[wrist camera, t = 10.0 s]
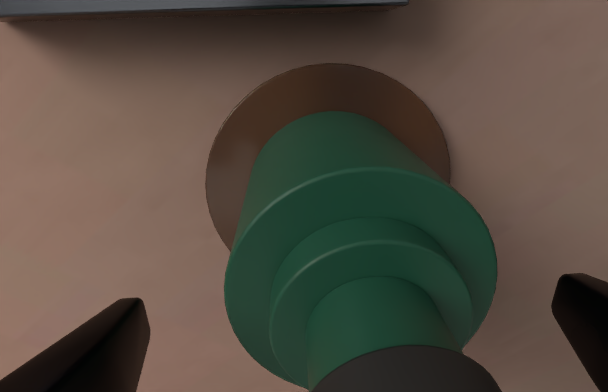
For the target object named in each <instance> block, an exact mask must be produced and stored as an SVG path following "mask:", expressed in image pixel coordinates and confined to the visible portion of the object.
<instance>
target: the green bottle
mask: <svg viewBox="0 0 608 392" xmlns="http://www.w3.org/2000/svg"><path fill="white" fill-rule="evenodd" d="M496 282H497V258H496V252H495V247H494V243H493V240H492V237H491V235H490V232H489V229H488V228H487V226H486V224H485V222H484V221H483V219H482V217H481V215H480V214H479V213H478V212H477V211H476V209H475V208H474V207H473V206H472V205H471V203H470V202H469V201H467V200H466V199H465V198H464V197H463V196H462V195H461V194H459V193H458V192H457V191H456V190H455V189H454V188H453V187H452V186H450V185H449V184H448V183H447V182H446V181H445V180H444V179H442V178H441V177H440V176H439V175H438V174H437V173H436V172H435V171H433V170H432V169H431V168H430V167H429V166H428V165H427V164H426V163H424V162H423V161H422V160H421V159H420V158H419V157H418V156H416V155H415V154H414V153H413V152H412V151H411V150H410V149H409V148H407V147H406V146H405V145H404V144H403V143H402V142H401V141H399V140H398V139H397V138H396V137H395V136H394V135H393V134H392V133H390V132H389V131H388V130H387V129H386V128H385V127H383V126H382V125H380V124H379V123H377V122H376V121H374V120H371V119H369V118H367V117H365V116H362V115H358V114H355V113H350V112H344V111H327V112H318V113H314V114H310V115H307V116H304V117H302V118H299V119H297V120H295V121H293V122H291V123H289V124H287V125H286V126H285V127H283V128H282V129H280V130H279V131H278V132H277V133H276V134H274V135H273V136H272V137H271V138H270V139H269V140H268V142H267V143H266V144H265V145H264V147H263V148H262V150H261V151H260V153H259V155H258V156H257V158H256V161H255V163H254V165H253V168H252V172H251V175H250V179H249V183H248V187H247V191H246V195H245V199H244V203H243V206H242V210H241V214H240V218H239V222H238V226H237V230H236V234H235V238H234V241H233V245H232V249H231V253H230V257H229V261H228V265H227V269H226V273H225V282H224V297H225V306H226V310H227V315H228V318H229V321H230V323H231V326H232V328H233V331H234V333H235V334H236V336H237V338H238V339H239V341H240V343H241V344H242V346H243V347H244V348H245V349H246V351H247V352H248V353H249V354H250V355H251V356H252V357H253V358H254V359H255V360H256V361H257V362H258V363H259V364H260V365H261V366H263V367H264V368H266V369H267V370H268V371H270V372H271V373H273V374H274V375H276V376H278V377H280V378H282V379H284V380H286V381H288V382H290V383H293V384H295V385H298V386H301V387H304V388H306V389H308V390H309V392H502V391H501V389H500V388H499V386H498V384H497V383H496V381H495V380H494V378H493V377H492V376H491V374H490V373H489V372H488V371H487V370H486V369H485V368H484V367H482V366H481V365H480V364H478V363H477V362H475V361H474V360H472V359H471V358H469V357H467V356H465V355H464V354H463V352H462V349H463V348H464V346H465V345H466V344H467V343H468V342H469V340H470V339H471V338H472V337H473V335H474V334H475V333H476V332H477V330H478V329H479V327H480V325H481V324H482V322H483V320H484V319H485V317H486V315H487V313H488V310H489V308H490V306H491V303H492V300H493V296H494V293H495V289H496Z"/></svg>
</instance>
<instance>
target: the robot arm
mask: <svg viewBox="0 0 608 392" xmlns="http://www.w3.org/2000/svg"><path fill="white" fill-rule="evenodd" d="M551 308H552V313H553V315H554V317H555V319H556V321H557V322H558V324H559V326H560V327H561V329H562V331H563V332H564V334H565V336H566V337H567V339H568V341H569V342H570V344H571V346H572V347H573V349H574V351H575V352H576V354H577V356H578V357H579V359H580V361H581V362H582V364H583V366H584V367H585V369H586V371H587V372H588V374H589V376H590V377H591V379H592V380H593V382H594V383H595V385H596V386H597V388H598V389H599V391H600V392H608V282H605V281H602V280H600V279H597V278H594V277H592V276H589V275H587V274H583V273H574V274H564V275H562V276H561V277H560V278H559V280H558V283H557V287H556V290H555V294H554V297H553V301H552V305H551ZM149 340H150V326H149V322H148V318H147V314H146V310H145V306H144V303H143V301H142V299H140V298H123V299H119V300H118V301H116V302H115V303H113V304H112V305H110V306H109V307H107V308H106V309H104V310H103V311H101V312H100V313H99V314H97V315H96V316H94V317H93V318H91V319H90V320H88V321H87V322H85V323H84V324H82V325H81V326H79V327H78V328H76V329H75V330H74V331H72V332H71V333H69V334H68V335H66V336H65V337H63V338H62V339H60V340H59V341H57V342H56V343H54V344H53V345H51V346H50V347H49V348H47V349H46V350H44V351H43V352H41V353H40V354H38V355H37V356H35V357H34V358H32V359H31V360H29V361H28V362H26V363H25V364H24V365H22V366H21V367H19V368H18V369H16V370H15V371H13V372H12V373H10V374H9V375H7V376H6V377H4V378H3V379H1V380H0V392H136V390H137V386H138V382H139V378H140V374H141V371H142V367H143V363H144V359H145V355H146V351H147V348H148V344H149Z"/></svg>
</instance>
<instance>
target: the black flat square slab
mask: <svg viewBox="0 0 608 392" xmlns="http://www.w3.org/2000/svg"><path fill="white" fill-rule="evenodd" d="M408 4H409V0H0V22H27V21H60V20H92V19H125V18H158V17H190V16H223V15H256V14H289V13H321V12H354V11H387V10H392V9H395V8H399V7H402V6H406V5H408Z"/></svg>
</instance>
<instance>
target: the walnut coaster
mask: <svg viewBox="0 0 608 392" xmlns="http://www.w3.org/2000/svg"><path fill="white" fill-rule="evenodd" d="M327 111H344V112H350V113H355V114H358V115H362V116H365V117H367V118H369V119H371V120H374V121H376V122H377V123H379V124H380V125H382V126H383V127H385V128H386V129H387V130H388V131H389V132H390V133H392V134H393V135H394V136H395V137H396V138H397V139H398V140H399V141H401V142H402V143H403V144H404V145H405V146H406V147H407V148H409V149H410V150H411V151H412V152H413V153H414V154H415V155H416V156H418V157H419V158H420V159H421V160H422V161H423V162H424V163H426V164H427V165H428V166H429V167H430V168H431V169H432V170H433V171H435V172H436V173H437V174H438V175H439V176H440V177H441V178H442V179H444V180H445V181H446V182H447V183H448V184H449V185H450V161H449V154H448V150H447V145H446V142H445V139H444V136H443V134H442V131H441V129H440V127H439V125H438V123H437V121H436V120H435V118H434V116H433V114H432V113H431V112H430V111H429V109H428V108H427V107H426V105H425V104H424V103H423V102H422V101H421V100H420V99H419V98H418V97H417V96H416V95H415V94H414V93H413V92H412V91H411V90H409V89H408V88H406V87H405V86H404V85H402V84H401V83H399V82H398V81H396V80H394V79H392V78H390V77H388V76H386V75H384V74H382V73H380V72H377V71H374V70H371V69H368V68H365V67H361V66H355V65H349V64H336V63H325V64H315V65H308V66H304V67H300V68H296V69H292V70H290V71H287V72H285V73H282V74H280V75H277V76H275V77H273V78H272V79H270V80H268V81H266V82H265V83H263V84H261V85H260V86H258V87H257V88H256V89H254V90H253V91H252V92H251V93H249V94H248V95H247V96H246V97H245V98H244V99H243V100H242V101H241V102H240V103H239V104H238V105H237V106H236V107H235V108H234V109H233V111H232V112H231V113H230V115H229V116H228V117H227V119H226V120H225V121H224V123H223V125H222V126H221V128H220V130H219V132H218V134H217V136H216V138H215V140H214V143H213V146H212V148H211V151H210V154H209V159H208V164H207V169H206V183H205V184H206V197H207V203H208V207H209V212H210V215H211V218H212V220H213V223H214V226H215V228H216V230H217V232H218V234H219V235H220V237H221V239H222V241H223V242H224V243H225V245H226V246H227V248H228V249H229V250H230V252H231V249H232V245H233V241H234V238H235V234H236V230H237V226H238V222H239V218H240V214H241V210H242V206H243V203H244V199H245V195H246V191H247V187H248V183H249V179H250V175H251V172H252V168H253V165H254V163H255V161H256V158H257V156H258V155H259V153H260V151H261V150H262V148H263V147H264V145H265V144H266V143H267V142H268V140H269V139H270V138H271V137H272V136H273V135H274V134H276V133H277V132H278V131H279V130H280V129H282V128H283V127H285V126H286V125H287V124H289V123H291V122H293V121H295V120H297V119H299V118H302V117H304V116H307V115H310V114H314V113H318V112H327Z"/></svg>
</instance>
